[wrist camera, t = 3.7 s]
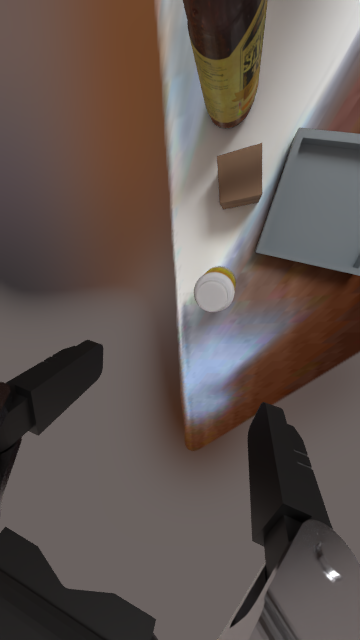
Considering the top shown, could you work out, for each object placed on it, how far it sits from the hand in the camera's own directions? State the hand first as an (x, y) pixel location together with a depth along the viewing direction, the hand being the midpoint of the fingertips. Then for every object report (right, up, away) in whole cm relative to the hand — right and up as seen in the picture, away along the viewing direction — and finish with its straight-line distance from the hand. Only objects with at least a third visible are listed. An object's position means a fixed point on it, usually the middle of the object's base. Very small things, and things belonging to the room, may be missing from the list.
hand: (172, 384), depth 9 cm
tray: (+20, +18, +16) cm, 31 cm away
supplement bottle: (+7, +10, +24) cm, 27 cm away
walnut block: (+9, +22, +18) cm, 30 cm away
